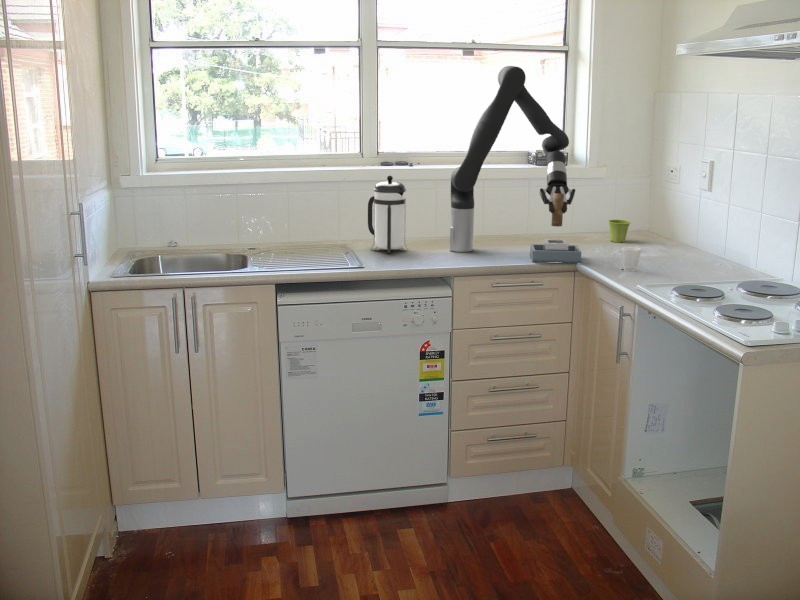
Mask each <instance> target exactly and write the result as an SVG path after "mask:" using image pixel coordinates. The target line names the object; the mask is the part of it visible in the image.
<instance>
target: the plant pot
mask: <svg viewBox="0 0 800 600" xmlns="http://www.w3.org/2000/svg"><path fill="white" fill-rule="evenodd" d="M607 222H608V225H609V236H610V237H609V240H610V242H613V243H618V242H619V243H625V242H626V238H627V233H628V230H629V227H630V224H631V223H632V221H629V220H626V219H625V220H624V219H608V221H607Z"/></svg>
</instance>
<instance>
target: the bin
mask: <svg viewBox="0 0 800 600" xmlns="http://www.w3.org/2000/svg"><path fill="white" fill-rule="evenodd" d="M529 248H530V249H529V256H530V260H531V263H532V262H562V263H561V264H568V263H571V264H570V265H572V264H573V265H577V263H581V261H582V251H581V249H580V247H579V246H578V245H576V244H568V251H543V243H541V244H538V243H537V244H536V243H534V244H533V243H531V244H529ZM581 264H582V263H581Z"/></svg>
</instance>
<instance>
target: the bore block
mask: <svg viewBox="0 0 800 600" xmlns="http://www.w3.org/2000/svg"><path fill="white" fill-rule="evenodd" d="M542 244H543V251H568V245H569V243H568V241H567V239H553V238H552V239H549V238H548V239H547V238H546V239H543V241H542Z"/></svg>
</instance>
